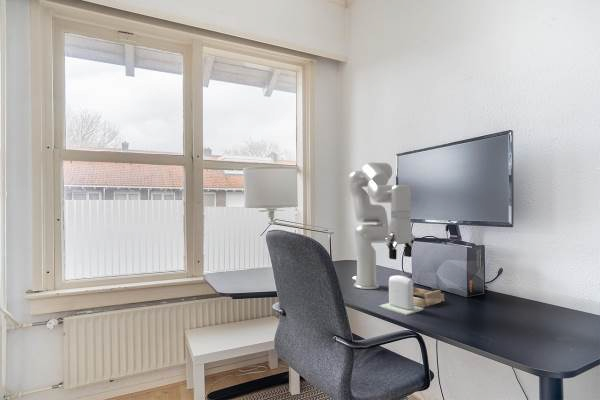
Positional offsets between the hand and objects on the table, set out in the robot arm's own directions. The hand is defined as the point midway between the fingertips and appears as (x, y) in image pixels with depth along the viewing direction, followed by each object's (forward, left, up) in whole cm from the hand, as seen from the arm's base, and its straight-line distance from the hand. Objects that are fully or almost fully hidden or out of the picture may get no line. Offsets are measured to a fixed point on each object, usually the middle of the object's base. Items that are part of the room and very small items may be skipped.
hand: (400, 257), depth 135 cm
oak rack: (-3, +16, -20) cm, 26 cm away
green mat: (0, 0, -20) cm, 20 cm away
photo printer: (0, 0, -20) cm, 20 cm away
